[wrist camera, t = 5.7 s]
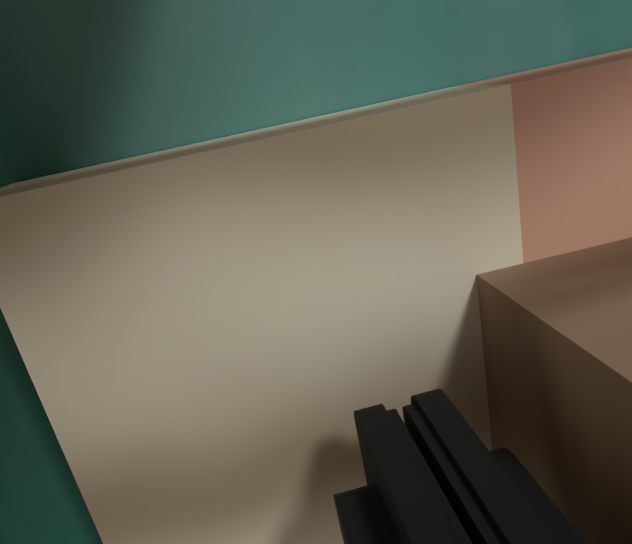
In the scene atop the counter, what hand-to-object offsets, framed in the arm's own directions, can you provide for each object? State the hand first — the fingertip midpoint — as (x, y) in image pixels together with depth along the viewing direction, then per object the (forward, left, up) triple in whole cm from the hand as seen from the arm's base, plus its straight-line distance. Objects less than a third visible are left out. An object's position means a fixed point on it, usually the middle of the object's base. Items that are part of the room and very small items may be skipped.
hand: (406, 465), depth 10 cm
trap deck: (0, +7, -4) cm, 8 cm away
